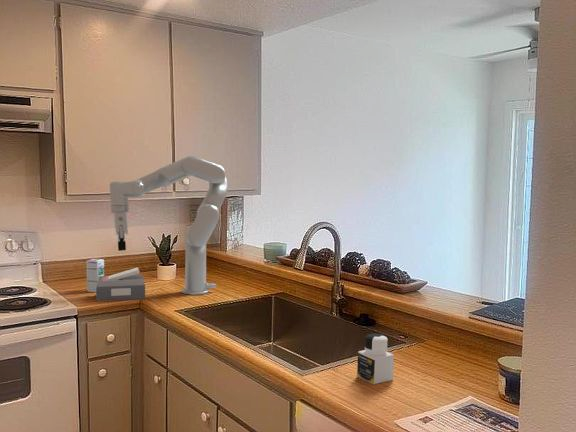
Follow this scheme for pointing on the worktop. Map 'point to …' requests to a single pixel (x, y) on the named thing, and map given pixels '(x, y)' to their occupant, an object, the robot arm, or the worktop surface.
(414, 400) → the worktop surface
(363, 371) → the medicine bottle
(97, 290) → the breaker box
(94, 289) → the syrup box
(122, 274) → the rocker switch
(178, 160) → the robot arm
